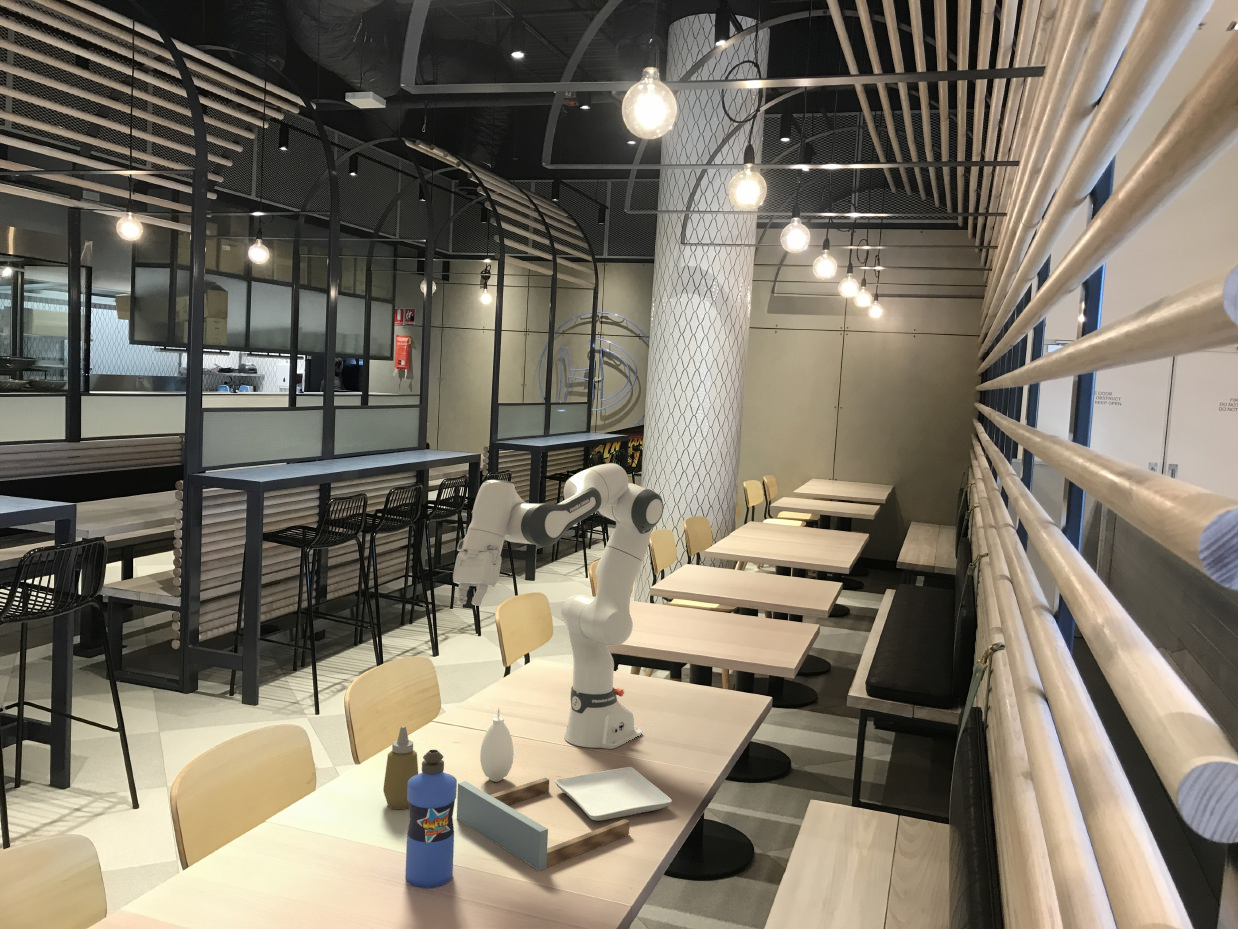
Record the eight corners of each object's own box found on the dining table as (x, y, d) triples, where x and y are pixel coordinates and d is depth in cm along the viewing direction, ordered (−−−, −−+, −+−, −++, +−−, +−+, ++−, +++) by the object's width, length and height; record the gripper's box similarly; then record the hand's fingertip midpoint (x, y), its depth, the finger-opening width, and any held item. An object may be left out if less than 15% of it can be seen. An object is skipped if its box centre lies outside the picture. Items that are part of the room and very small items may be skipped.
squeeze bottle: (425, 800, 219) (428, 724, 217) (406, 815, 211) (409, 736, 210) (395, 794, 221) (397, 718, 220) (375, 808, 214) (377, 730, 212)
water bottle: (400, 868, 188) (404, 745, 186) (447, 861, 192) (451, 740, 190) (409, 892, 179) (413, 763, 177) (458, 884, 183) (463, 757, 181)
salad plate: (591, 830, 209) (591, 815, 208) (552, 792, 227) (553, 778, 227) (674, 814, 219) (674, 800, 218) (630, 779, 237) (631, 765, 237)
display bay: (544, 789, 228) (546, 757, 227) (628, 834, 207) (630, 799, 206) (456, 818, 210) (457, 783, 210) (538, 870, 189) (540, 831, 189)
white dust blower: (518, 781, 232) (521, 708, 231) (493, 789, 226) (496, 715, 225) (498, 771, 237) (500, 700, 236) (473, 779, 232) (475, 707, 230)
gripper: (512, 548, 214) (497, 609, 211) (479, 550, 232) (465, 606, 229) (487, 541, 211) (471, 602, 208) (455, 543, 229) (441, 600, 226)
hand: (468, 604), depth 219 cm, fingers open, 8 cm apart
